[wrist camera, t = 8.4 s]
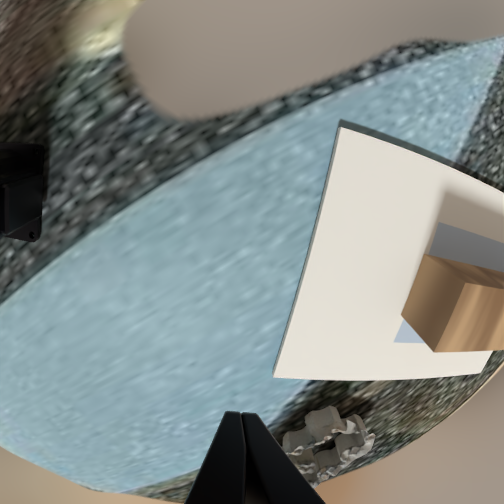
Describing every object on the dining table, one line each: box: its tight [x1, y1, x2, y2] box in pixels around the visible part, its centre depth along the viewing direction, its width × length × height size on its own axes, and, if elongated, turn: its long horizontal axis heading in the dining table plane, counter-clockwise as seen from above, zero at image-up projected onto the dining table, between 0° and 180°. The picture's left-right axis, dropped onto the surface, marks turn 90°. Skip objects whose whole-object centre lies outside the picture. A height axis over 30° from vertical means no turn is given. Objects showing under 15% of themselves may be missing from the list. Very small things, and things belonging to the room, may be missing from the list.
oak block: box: [401, 254, 504, 353], centre depth 20 cm, size 5×5×12 cm
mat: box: [272, 127, 504, 380], centre depth 22 cm, size 24×18×1 cm
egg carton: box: [282, 406, 375, 489], centre depth 26 cm, size 11×8×4 cm
